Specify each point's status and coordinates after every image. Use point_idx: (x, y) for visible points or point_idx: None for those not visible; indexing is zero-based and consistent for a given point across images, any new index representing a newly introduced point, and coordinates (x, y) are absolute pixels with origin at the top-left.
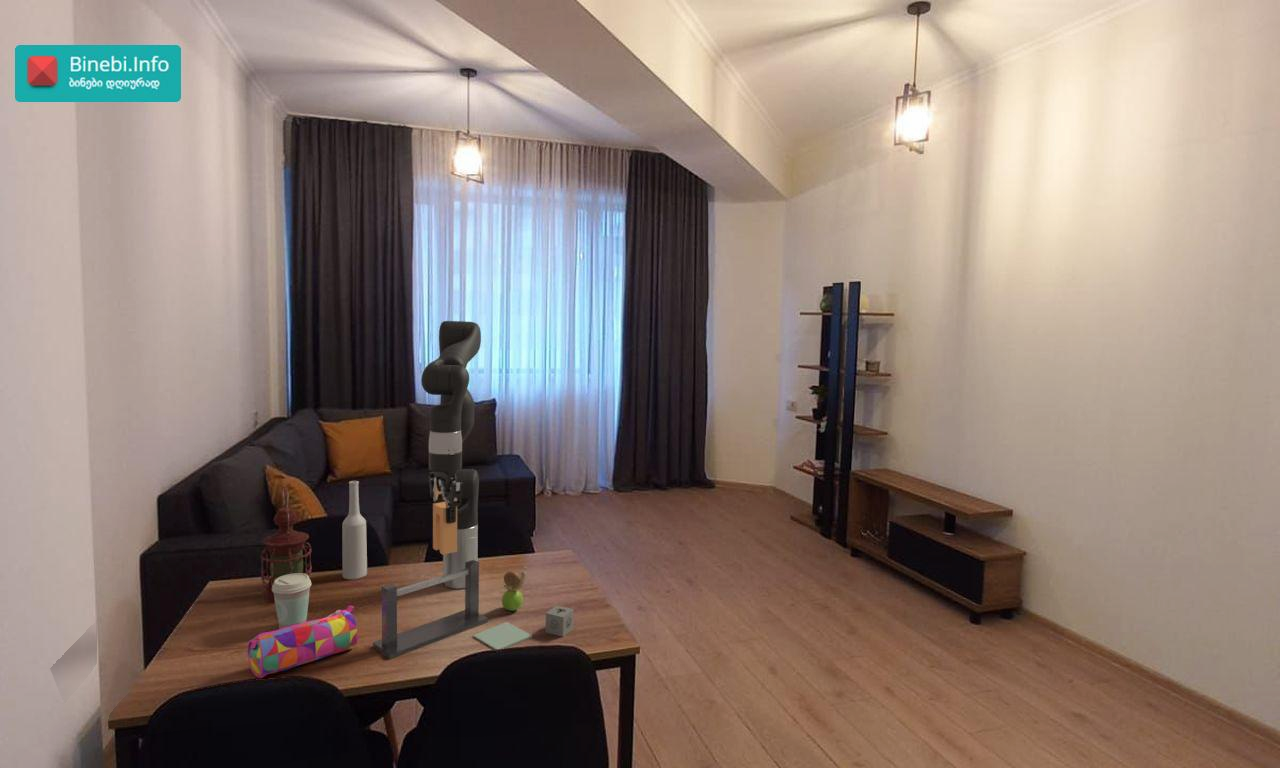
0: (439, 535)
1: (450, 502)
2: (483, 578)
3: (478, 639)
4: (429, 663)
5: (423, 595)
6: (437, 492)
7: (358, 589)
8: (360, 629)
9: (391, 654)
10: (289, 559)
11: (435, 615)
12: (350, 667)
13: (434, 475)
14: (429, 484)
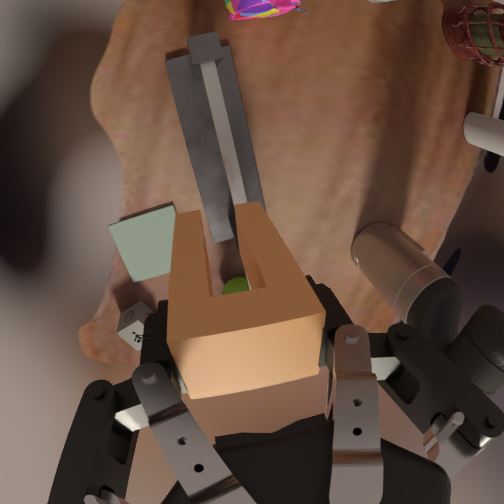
0: (244, 241)
1: (92, 407)
2: (364, 277)
3: (157, 209)
4: (117, 118)
5: (369, 181)
6: (334, 393)
7: (437, 109)
8: (306, 49)
9: (165, 63)
10: (489, 20)
11: (287, 172)
12: (174, 6)
13: (435, 475)
14: (459, 370)
